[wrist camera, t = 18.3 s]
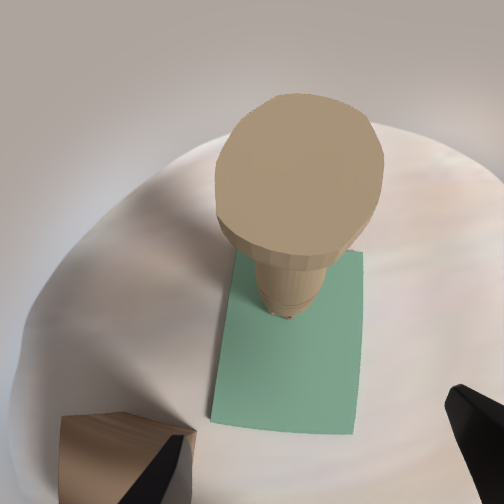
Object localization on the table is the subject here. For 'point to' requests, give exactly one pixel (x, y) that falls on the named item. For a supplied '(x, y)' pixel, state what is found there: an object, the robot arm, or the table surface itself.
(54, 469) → the table surface
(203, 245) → the table surface
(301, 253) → the handle
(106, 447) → the cabinet
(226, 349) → the mat
